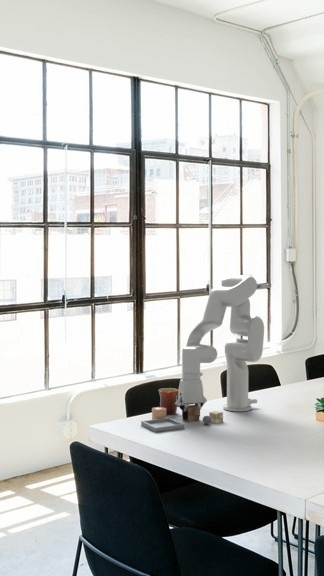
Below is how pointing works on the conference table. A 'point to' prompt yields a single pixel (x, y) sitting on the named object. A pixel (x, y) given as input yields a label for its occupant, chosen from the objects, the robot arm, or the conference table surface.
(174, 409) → the mug
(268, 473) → the conference table surface
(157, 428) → the tray
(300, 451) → the conference table surface
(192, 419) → the walnut block
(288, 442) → the conference table surface
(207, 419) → the grey ball
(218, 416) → the beech cube
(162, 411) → the beige short cylinder
